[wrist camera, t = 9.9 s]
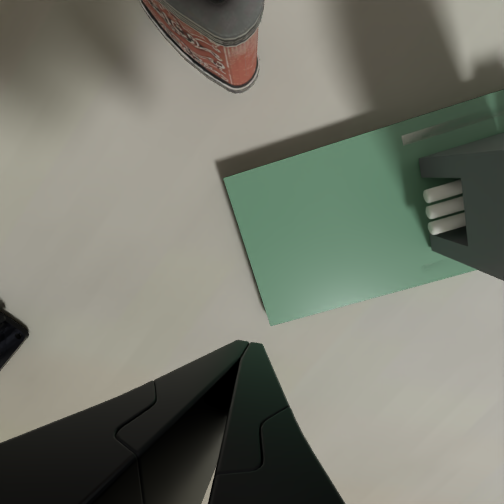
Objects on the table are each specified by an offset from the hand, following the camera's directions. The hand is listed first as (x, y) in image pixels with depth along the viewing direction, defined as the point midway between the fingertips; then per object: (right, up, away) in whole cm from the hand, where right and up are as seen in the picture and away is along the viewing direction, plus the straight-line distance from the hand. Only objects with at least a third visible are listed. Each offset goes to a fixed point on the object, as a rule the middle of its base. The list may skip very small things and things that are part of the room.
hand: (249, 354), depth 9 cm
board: (+9, +6, +11) cm, 15 cm away
